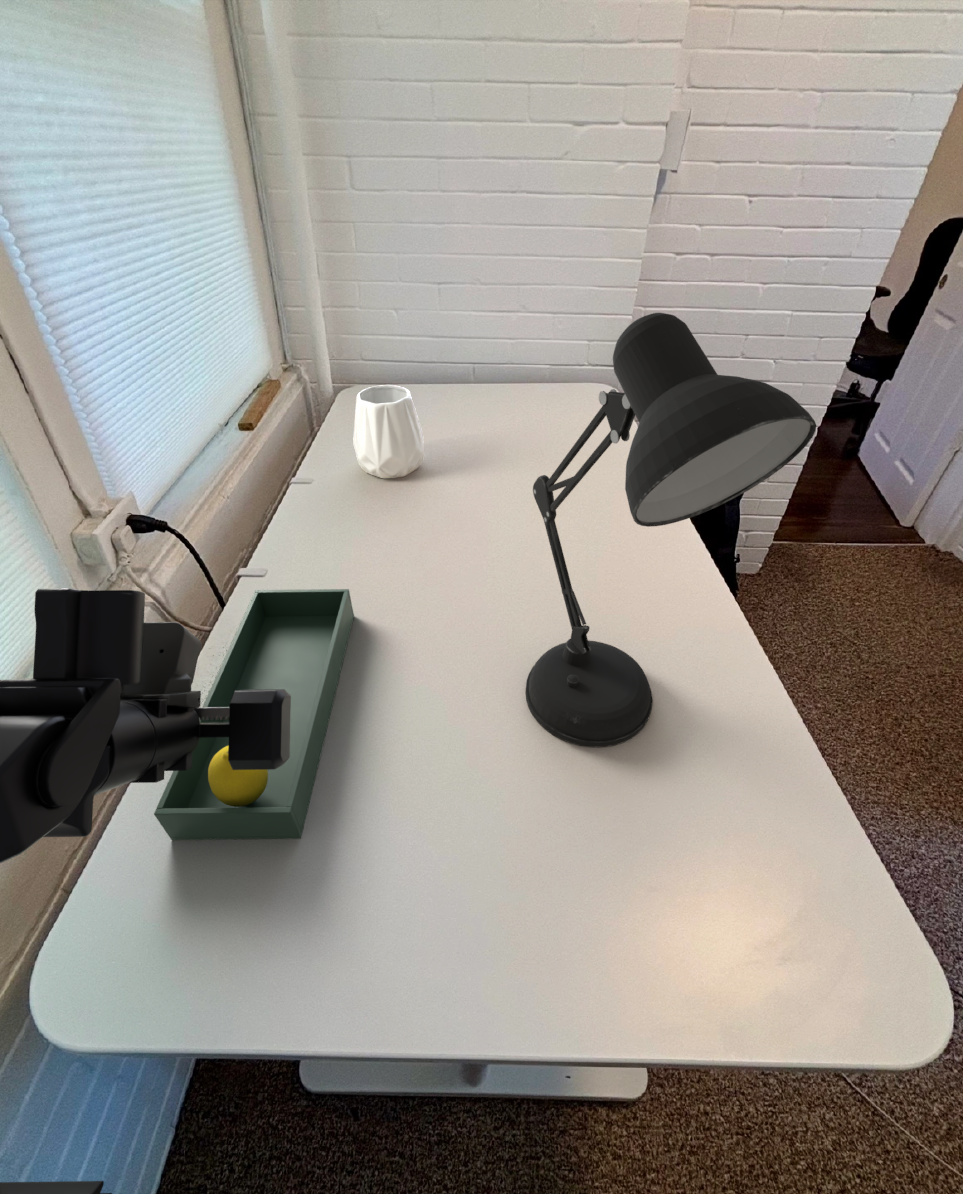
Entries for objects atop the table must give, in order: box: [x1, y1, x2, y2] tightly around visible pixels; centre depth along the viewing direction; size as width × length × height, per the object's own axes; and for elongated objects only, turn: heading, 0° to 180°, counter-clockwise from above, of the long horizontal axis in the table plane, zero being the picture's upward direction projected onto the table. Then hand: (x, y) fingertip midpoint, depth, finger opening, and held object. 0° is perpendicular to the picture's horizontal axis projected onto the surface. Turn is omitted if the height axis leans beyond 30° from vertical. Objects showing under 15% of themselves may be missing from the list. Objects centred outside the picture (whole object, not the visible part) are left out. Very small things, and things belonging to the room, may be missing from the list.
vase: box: [352, 384, 425, 479], centre depth 117 cm, size 14×14×15 cm
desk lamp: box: [525, 312, 817, 748], centre depth 59 cm, size 24×26×45 cm
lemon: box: [208, 746, 268, 807], centre depth 61 cm, size 6×6×8 cm
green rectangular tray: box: [153, 588, 355, 841], centre depth 72 cm, size 34×13×5 cm, turn 0°
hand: (216, 718), depth 56 cm, fingers open, 9 cm apart
